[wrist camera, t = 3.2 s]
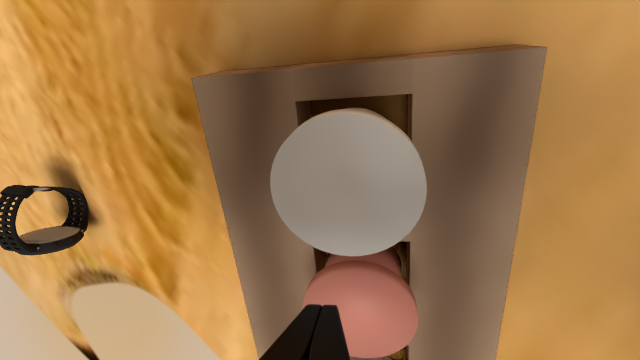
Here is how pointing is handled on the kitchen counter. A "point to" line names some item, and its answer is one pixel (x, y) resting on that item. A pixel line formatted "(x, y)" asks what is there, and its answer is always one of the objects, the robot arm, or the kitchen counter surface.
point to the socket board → (440, 170)
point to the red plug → (368, 301)
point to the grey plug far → (379, 359)
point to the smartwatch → (46, 237)
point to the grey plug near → (349, 182)
